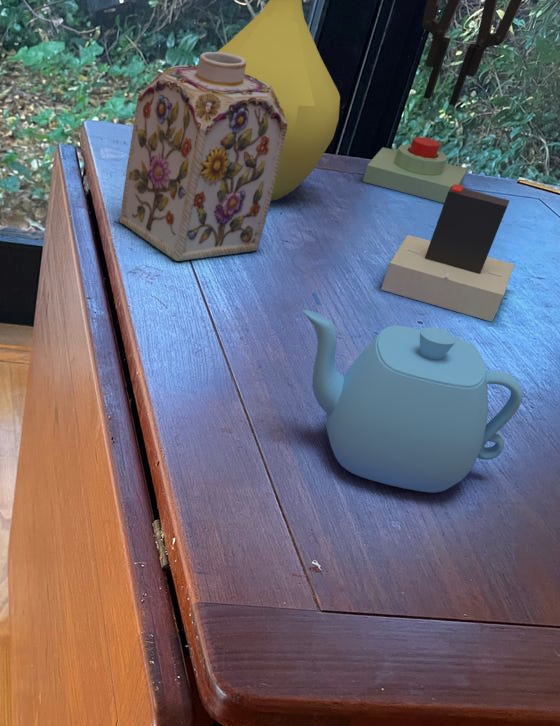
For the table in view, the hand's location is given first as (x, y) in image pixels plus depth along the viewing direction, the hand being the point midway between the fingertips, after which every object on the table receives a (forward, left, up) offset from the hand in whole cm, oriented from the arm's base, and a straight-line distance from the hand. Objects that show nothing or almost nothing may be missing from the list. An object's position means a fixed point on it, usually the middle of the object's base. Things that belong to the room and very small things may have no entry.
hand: (440, 99), depth 128 cm
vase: (+18, +20, -11) cm, 29 cm away
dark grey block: (-10, +35, -7) cm, 37 cm away
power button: (0, 0, -7) cm, 7 cm away
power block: (0, 0, -11) cm, 11 cm away
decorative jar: (+18, +41, -11) cm, 46 cm away
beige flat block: (-10, +35, -11) cm, 38 cm away
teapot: (-11, +74, -11) cm, 76 cm away
